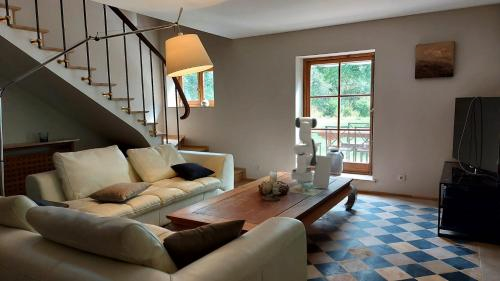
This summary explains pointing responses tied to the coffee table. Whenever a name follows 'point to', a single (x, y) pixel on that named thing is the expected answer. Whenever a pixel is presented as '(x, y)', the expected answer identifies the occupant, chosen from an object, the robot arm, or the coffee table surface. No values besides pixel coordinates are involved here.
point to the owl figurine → (271, 191)
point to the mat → (313, 192)
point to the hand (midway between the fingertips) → (301, 184)
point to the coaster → (306, 185)
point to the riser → (298, 189)
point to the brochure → (322, 172)
